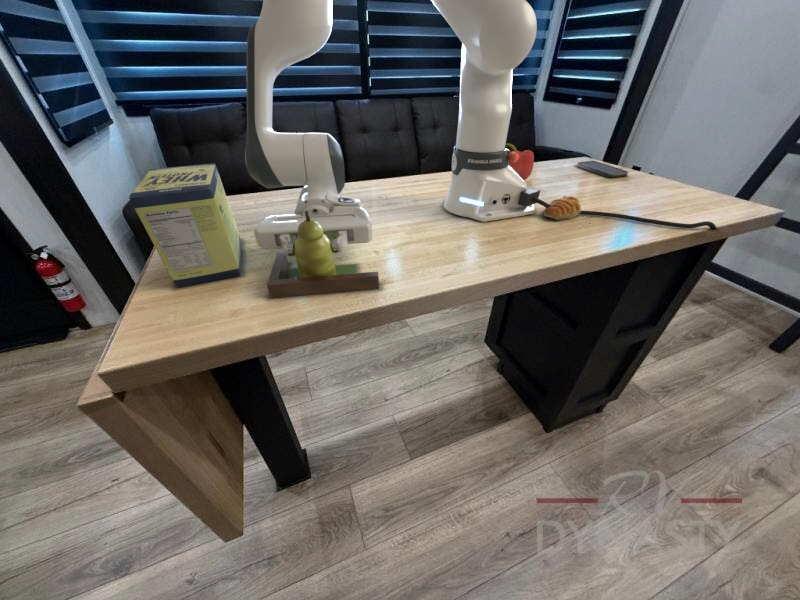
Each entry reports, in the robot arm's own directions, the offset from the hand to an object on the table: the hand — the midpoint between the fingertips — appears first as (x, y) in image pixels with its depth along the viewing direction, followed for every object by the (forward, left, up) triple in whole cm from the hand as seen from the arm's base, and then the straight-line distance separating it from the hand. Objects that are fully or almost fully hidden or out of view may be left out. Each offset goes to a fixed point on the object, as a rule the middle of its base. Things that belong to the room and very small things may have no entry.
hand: (313, 250), depth 52 cm
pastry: (-57, -20, -6) cm, 61 cm away
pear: (0, -1, -6) cm, 6 cm away
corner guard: (-1, -1, -6) cm, 6 cm away
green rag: (-1, -1, -6) cm, 6 cm away
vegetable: (-57, -48, -6) cm, 75 cm away
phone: (-91, -53, -6) cm, 106 cm away
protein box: (+20, -9, -6) cm, 23 cm away
